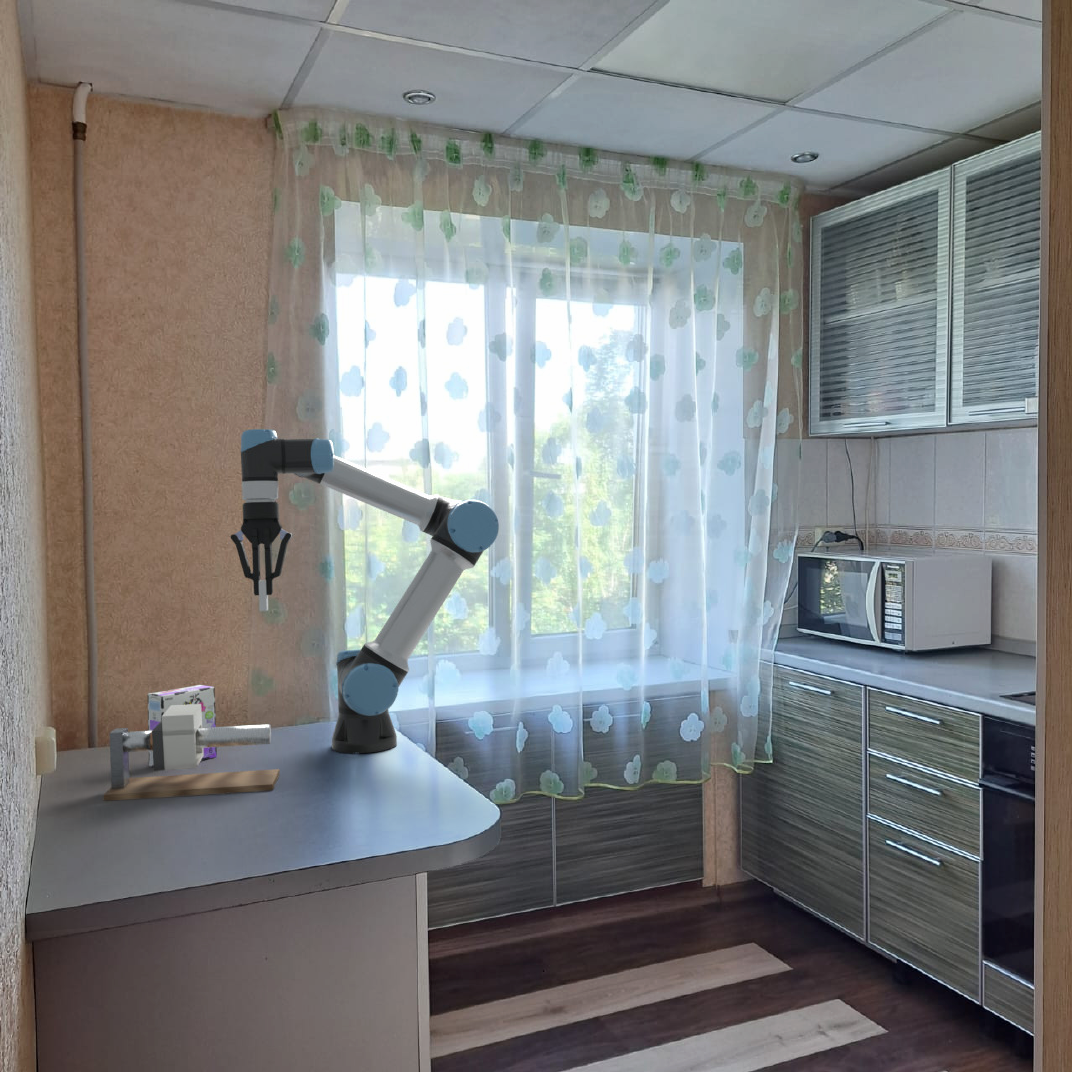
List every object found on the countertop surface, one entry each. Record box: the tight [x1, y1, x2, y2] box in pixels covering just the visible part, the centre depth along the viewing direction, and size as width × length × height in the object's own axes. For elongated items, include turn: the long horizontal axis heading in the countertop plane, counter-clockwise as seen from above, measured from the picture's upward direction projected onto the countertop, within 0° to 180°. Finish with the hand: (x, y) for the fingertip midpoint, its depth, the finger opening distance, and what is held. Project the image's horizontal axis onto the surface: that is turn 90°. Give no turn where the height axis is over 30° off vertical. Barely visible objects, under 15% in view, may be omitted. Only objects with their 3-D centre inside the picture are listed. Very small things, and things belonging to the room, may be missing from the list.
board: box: [102, 768, 280, 802], centre depth 198 cm, size 32×12×1 cm, turn 98°
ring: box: [152, 721, 166, 772], centre depth 197 cm, size 2×8×8 cm, turn 8°
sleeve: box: [162, 704, 204, 771], centre depth 197 cm, size 6×8×11 cm
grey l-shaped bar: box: [109, 723, 272, 789], centre depth 197 cm, size 31×4×11 cm, turn 98°
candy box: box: [147, 684, 218, 768], centre depth 219 cm, size 14×6×16 cm, turn 143°
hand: (263, 610), depth 211 cm, fingers closed
